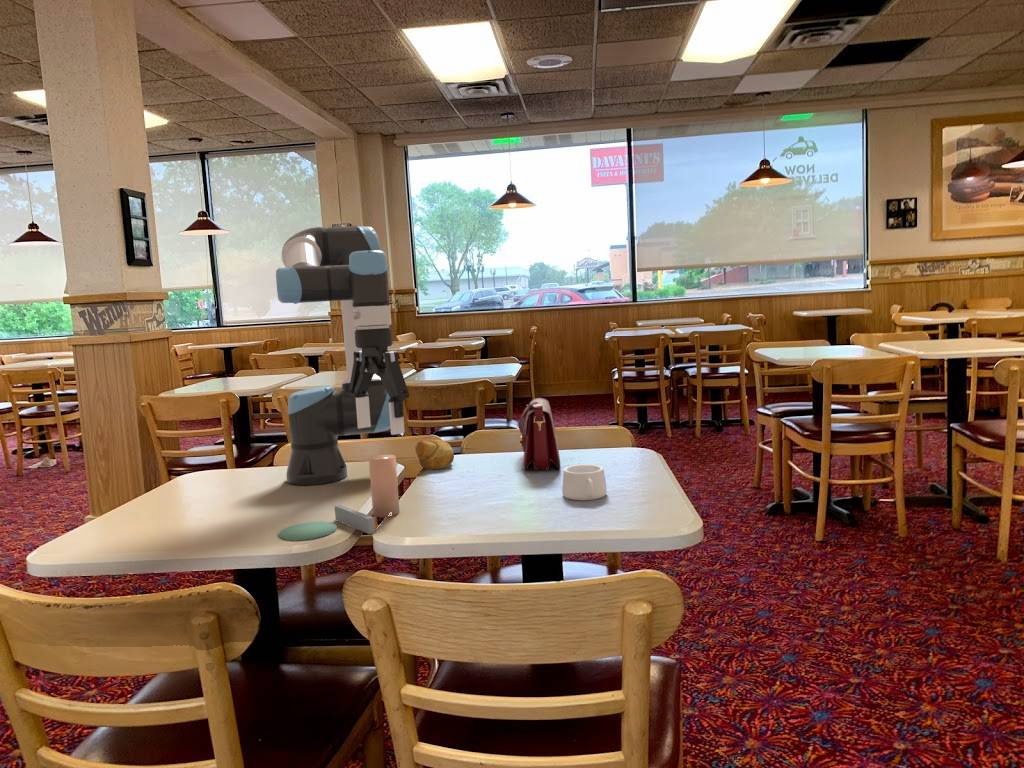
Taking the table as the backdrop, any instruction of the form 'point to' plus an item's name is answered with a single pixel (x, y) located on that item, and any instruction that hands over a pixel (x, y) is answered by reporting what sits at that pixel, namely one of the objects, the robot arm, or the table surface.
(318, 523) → the pad
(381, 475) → the peach rounded cylinder
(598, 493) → the mug
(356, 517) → the rail
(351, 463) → the table surface
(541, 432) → the handbag
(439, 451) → the bread roll
